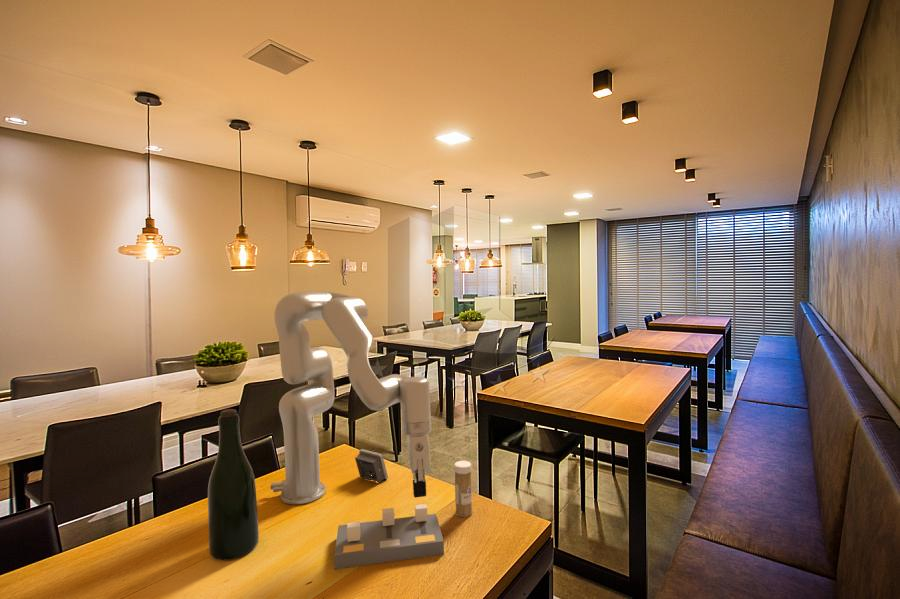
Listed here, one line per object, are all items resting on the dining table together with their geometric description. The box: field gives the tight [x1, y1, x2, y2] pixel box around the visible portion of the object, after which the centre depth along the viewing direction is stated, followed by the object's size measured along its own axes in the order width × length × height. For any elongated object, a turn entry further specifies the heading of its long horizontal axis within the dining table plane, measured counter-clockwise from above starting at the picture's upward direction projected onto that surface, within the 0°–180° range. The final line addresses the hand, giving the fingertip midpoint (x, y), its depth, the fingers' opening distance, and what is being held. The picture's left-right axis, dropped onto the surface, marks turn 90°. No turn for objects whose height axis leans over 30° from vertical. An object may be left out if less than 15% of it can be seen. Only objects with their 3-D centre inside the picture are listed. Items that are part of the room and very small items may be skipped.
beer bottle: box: [207, 408, 260, 561], centre depth 102 cm, size 10×10×33 cm
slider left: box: [347, 521, 361, 542], centre depth 99 cm, size 3×2×3 cm
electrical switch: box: [354, 448, 389, 484], centre depth 136 cm, size 9×5×9 cm, turn 57°
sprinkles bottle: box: [453, 460, 473, 518], centre depth 115 cm, size 5×5×13 cm
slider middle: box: [381, 507, 395, 526], centre depth 105 cm, size 3×2×3 cm
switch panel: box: [333, 513, 445, 570], centre depth 102 cm, size 24×12×3 cm, turn 100°
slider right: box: [414, 503, 428, 522], centre depth 106 cm, size 3×2×3 cm
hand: (419, 495), depth 113 cm, fingers closed
